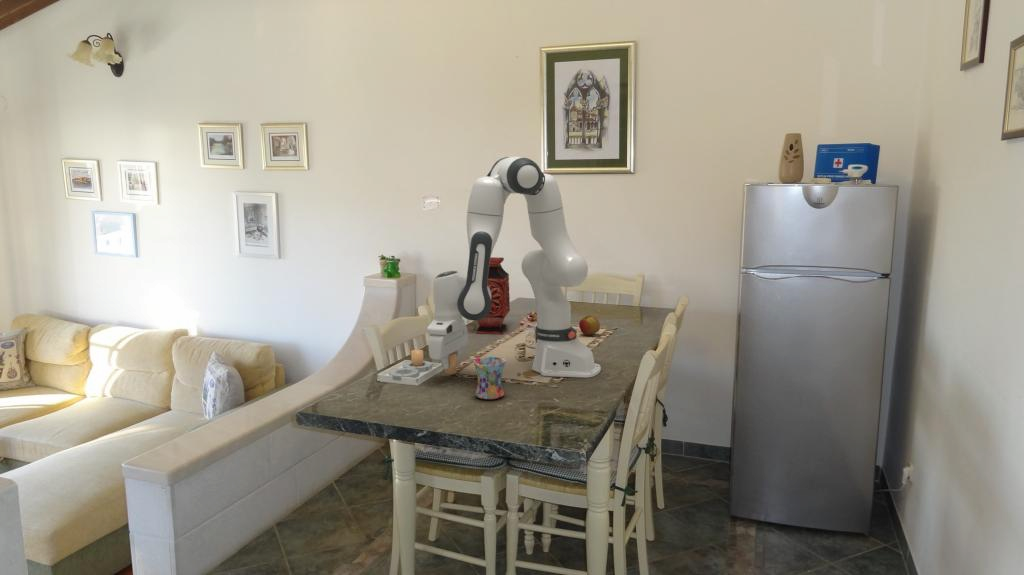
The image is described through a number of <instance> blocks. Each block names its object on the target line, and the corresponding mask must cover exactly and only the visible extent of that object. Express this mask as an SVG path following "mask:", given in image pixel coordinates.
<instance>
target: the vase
mask: <svg viewBox="0 0 1024 575" xmlns="http://www.w3.org/2000/svg"><path fill="white" fill-rule="evenodd" d="M503 262H504V257H497V256H496V257H494V256H493V257H492V256H491V258H490V265H489V273H488V282H487V285H488V287H489V288H490V290H491V309H490V312H489V313H488V315H487V316H486V317H484V318H483V319H481V320H477V321H476V322H477V324H478V325H479V327H478V328H477V329H476V334H481V335H482V334H484V335H503V334H504V332H505V331H506V330H507V324H504V320H505V318H506V317H507V315H508V314H509V312H510V311H511V308H510V304H511V302H510V282H509V280H510V278H509V277H510V274H509V273H508V272H507V271H506V270H505V269H504V268H503V267H502V264H501V263H503Z"/></svg>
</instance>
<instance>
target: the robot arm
mask: <svg viewBox="0 0 1024 575" xmlns="http://www.w3.org/2000/svg"><path fill="white" fill-rule="evenodd" d="M511 194H520V195H523V196H524V198H525V201H526V206H527V214H528V220H529V227H530V233H531V236H532V238H533V240H535V241H536V242H537V243H538V244H539V246H540V248H541V249H535V250H531V251H528V252H526V254H525V255H524V256H523V258H522V260H521V271H522V274H523V276H524V277H525V278H526V279H527V280H528V282H529V284H530V286H531V289H532V293H533V295H534V300H535V306H536V308H535V309H536V325H535V330H534V339H535V344H536V345H535V353H534V359H533V363H532V366H531V369H532V370H533V371H534V372H536V373H540V375H542V377H543V376H544V377H557V378H558V377H561V378H567V377H568V378H586V379H587V378H592V377H593V378H594V377H595V376H597V375H598V374H600V372H601V370H602V366H601V365H600V364H598V363H595V359H594V355H593V351H592V350H591V349H590V347H588V346H586V344H584V343H583V342H582V341H581V340H579V339H578V338H577V332H578V328H574V327H573V326H572V325H571V322H572V321H571V320H572V319H571V318H572V317H571V316H572V315H571V312H572V310H571V309H572V306H571V302H570V300H569V299H568V297H566V295H565V294H564V291H563V289H562V287H564V288H572V287H579V286H581V285H582V284H583V283H584V282H585V280H586V279H587V277H588V274H589V267H588V262H587V261H586V259H585V258H584V257H583V256H581V254H580V253H579V252H578V251H577V250H576V248H575V246H574V244H573V242H572V241H571V238H570V236H569V234H568V229H567V226H566V220H565V219H566V218H565V213H564V206H563V200H562V195H561V191H560V188H559V185H558V182H557V179H556V178H555V176H553V175H552V174H549V173H543V171H542V169H541V167H540V166H539V165H538V163H536V162H535V161H534V160H532V159H530V158H528V157H522V156H510V157H509V156H505V157H502V158H499V159H498V160H496V161H495V163H494V164H493V165H492V167H491V168H490V170H489V172H488V174H487V175H486V176H482V177H479V178H477V179H475V181H474V182H473V184H472V188H471V191H470V195H469V199H468V204H467V212H466V232H467V233H466V234H467V244H468V252H469V253H468V254H469V255H468V264H467V271H466V272H467V273H466V276H464V275H463V274H461V273H460V272H459V271H457V270H451V271H445V272H442V273H439V274H438V275H437V276H435V278H434V279H433V286H432V287H433V289H432V292H433V293H432V300H433V304H434V311H433V319H432V321H431V322H430V324H429V325H428V326H427V327H426V332H427V334H428V340H427V341H428V342H427V344H428V353H429V354H428V355H429V357H430V359H431V360H436V361H438V360H441V363H443V370H445V369H448V368H450V362H449V361H448V358H449V355H450V354H451V353H456V364H457V363H458V362H459V360H458V358H459V355H460V349H461V348H463V347H465V346H467V345H468V343H469V335H468V326H467V324H466V323H465V320H464V319H466V320H469V321H471V322H472V321H475V322H477V320H481V319H483V318H484V317H486V316H487V315H488V313H489V312H490V309H491V290H490V288H489V287H488V285H487V282H488V273H489V265H490V258H491V257H492V254H493V251H494V248H495V246H496V244H497V242H498V239H499V237H500V234H501V231H502V230H501V229H502V226H503V221H504V212H505V204H506V201H507V199H508V197H509V196H510V195H511Z"/></svg>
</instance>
